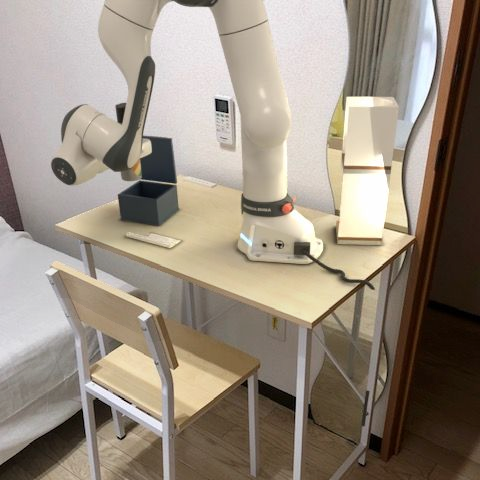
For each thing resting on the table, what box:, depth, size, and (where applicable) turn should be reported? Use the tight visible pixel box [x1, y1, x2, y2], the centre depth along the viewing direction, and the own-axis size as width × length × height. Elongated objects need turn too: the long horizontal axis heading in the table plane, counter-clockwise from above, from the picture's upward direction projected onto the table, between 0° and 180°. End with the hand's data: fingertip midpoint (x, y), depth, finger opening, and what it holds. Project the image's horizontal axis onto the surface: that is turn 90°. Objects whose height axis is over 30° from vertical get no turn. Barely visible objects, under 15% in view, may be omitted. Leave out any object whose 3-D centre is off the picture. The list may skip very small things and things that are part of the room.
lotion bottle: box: [115, 102, 142, 182], centre depth 157 cm, size 6×6×20 cm
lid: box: [140, 135, 178, 185], centre depth 171 cm, size 13×13×5 cm
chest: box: [117, 179, 180, 227], centre depth 171 cm, size 13×13×8 cm
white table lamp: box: [335, 96, 400, 246], centre depth 148 cm, size 11×11×35 cm
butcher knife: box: [125, 231, 181, 249], centre depth 158 cm, size 5×15×1 cm, turn 58°
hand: (128, 137), depth 157 cm, fingers closed on lotion bottle, 5 cm apart
